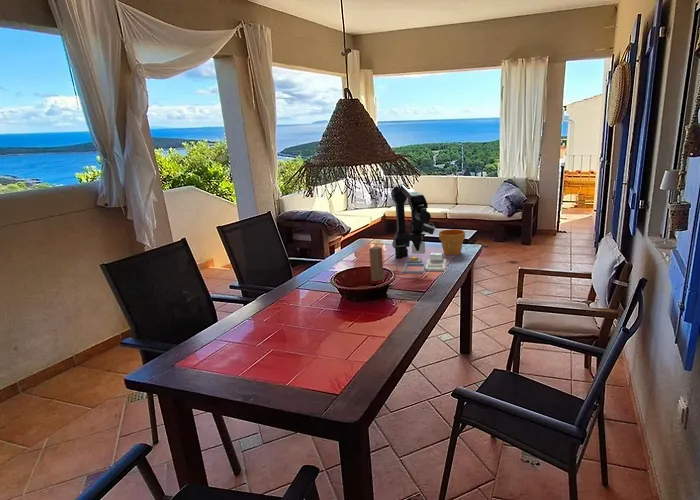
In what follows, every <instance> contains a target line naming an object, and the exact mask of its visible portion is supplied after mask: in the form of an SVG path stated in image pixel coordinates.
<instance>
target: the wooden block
mask: <svg viewBox="0 0 700 500" xmlns="http://www.w3.org/2000/svg"><path fill="white" fill-rule="evenodd" d="M382 249H383V248H382V247H381V246H373V247H371V248H369V262H370V264H369V265H370V277H371V278H370V280H371V281H372V280H373V281H378V280H382V279H385V278H386V277H385V276H384V274H385V273H386V272H385V270H384V267H383V266H384V263H383V250H382Z"/></svg>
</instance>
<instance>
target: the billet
mask: <svg viewBox="0 0 700 500" xmlns="http://www.w3.org/2000/svg"><path fill="white" fill-rule="evenodd" d="M425 243H426V242H425V241H422V242H420V248H419V251H417V250H416V248H415V246H414V244H413V243H411V254H417V255H418V254H425V252H426V244H425Z"/></svg>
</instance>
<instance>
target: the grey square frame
mask: <svg viewBox="0 0 700 500" xmlns="http://www.w3.org/2000/svg"><path fill="white" fill-rule="evenodd" d="M422 260H423V259H422V257H418V261H411V257H408V258H407V260H406V263H422Z"/></svg>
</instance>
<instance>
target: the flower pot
mask: <svg viewBox="0 0 700 500" xmlns="http://www.w3.org/2000/svg"><path fill="white" fill-rule="evenodd" d="M465 238H466V231H465V230H463V229H455V228H453V229H452V228H451V229H445V230H444V229H443V230H440V231H439V232H438V240H439V241H440V242H441V243H440V244H441V247H442V250H443V255H444V254H445V255H446V256H447V255H448V256H456V255H457V256H458V255H460V254H461V253H462V248H463V243H464V240H465Z"/></svg>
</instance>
